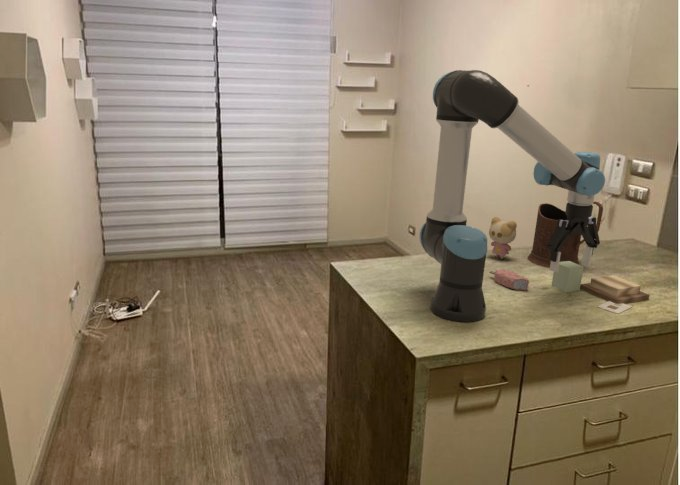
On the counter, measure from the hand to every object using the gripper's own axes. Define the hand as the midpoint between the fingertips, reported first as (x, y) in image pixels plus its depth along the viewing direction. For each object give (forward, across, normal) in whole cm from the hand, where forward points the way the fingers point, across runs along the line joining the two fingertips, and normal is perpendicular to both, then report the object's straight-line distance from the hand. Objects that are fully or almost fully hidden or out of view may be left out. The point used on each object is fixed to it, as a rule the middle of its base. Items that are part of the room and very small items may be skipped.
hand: (569, 268), depth 172 cm
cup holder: (+7, +18, +20) cm, 28 cm away
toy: (+7, 0, +32) cm, 33 cm away
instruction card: (+7, +2, -17) cm, 18 cm away
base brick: (+7, +10, -9) cm, 15 cm away
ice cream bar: (+7, -17, +9) cm, 20 cm away
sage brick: (+7, 0, 0) cm, 7 cm away
